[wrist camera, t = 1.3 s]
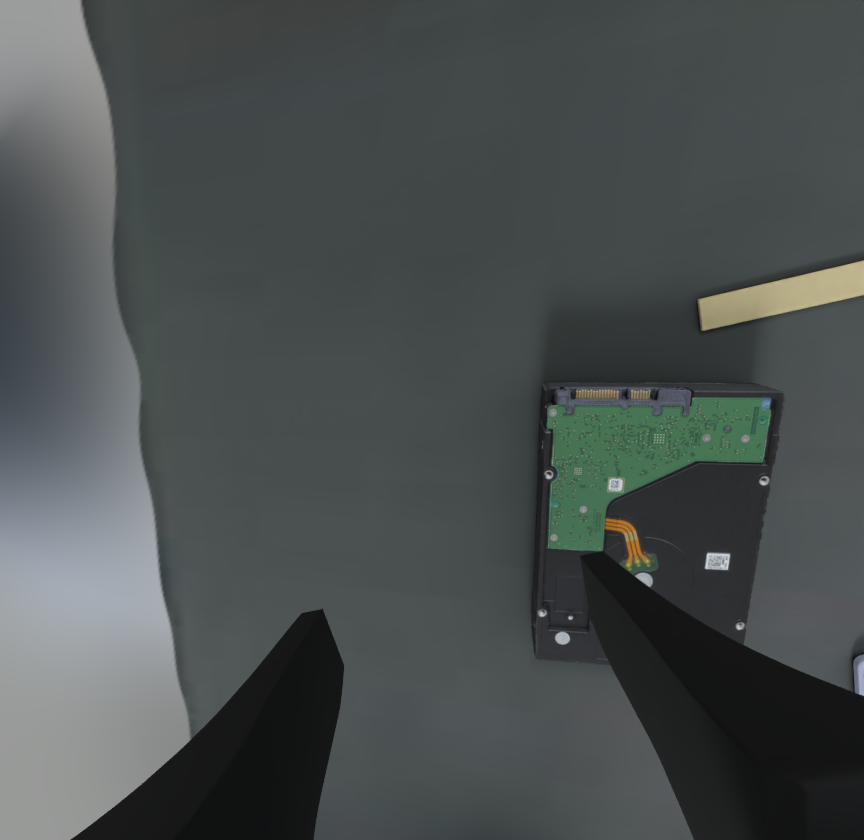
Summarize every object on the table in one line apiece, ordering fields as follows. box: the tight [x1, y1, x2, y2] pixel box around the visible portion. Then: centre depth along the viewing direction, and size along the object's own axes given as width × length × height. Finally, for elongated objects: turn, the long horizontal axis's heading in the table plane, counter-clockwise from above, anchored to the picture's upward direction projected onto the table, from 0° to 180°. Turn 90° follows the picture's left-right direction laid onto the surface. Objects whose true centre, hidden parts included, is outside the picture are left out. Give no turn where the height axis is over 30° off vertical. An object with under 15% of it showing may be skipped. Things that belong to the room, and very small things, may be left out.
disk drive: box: [532, 382, 785, 665], centre depth 23 cm, size 10×3×15 cm
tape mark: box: [697, 260, 864, 331], centre depth 21 cm, size 7×10×1 cm
